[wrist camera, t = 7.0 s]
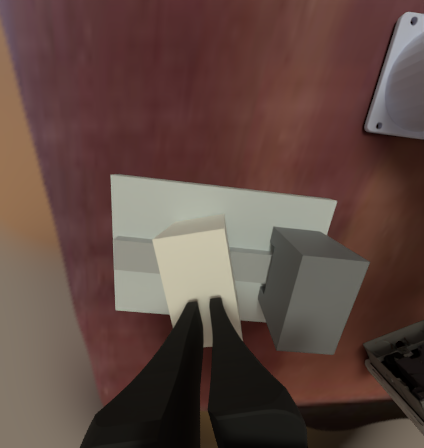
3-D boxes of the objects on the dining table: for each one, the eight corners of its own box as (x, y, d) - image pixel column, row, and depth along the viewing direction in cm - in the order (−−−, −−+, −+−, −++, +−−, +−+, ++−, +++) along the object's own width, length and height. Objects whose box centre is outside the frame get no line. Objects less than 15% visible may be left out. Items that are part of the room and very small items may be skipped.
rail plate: (329, 198, 19) (399, 219, 12) (294, 316, 23) (331, 382, 16) (117, 174, 18) (59, 181, 11) (120, 302, 22) (80, 366, 15)
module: (224, 213, 18) (224, 228, 12) (238, 301, 19) (244, 353, 13) (175, 221, 18) (152, 239, 12) (193, 307, 20) (180, 359, 14)
